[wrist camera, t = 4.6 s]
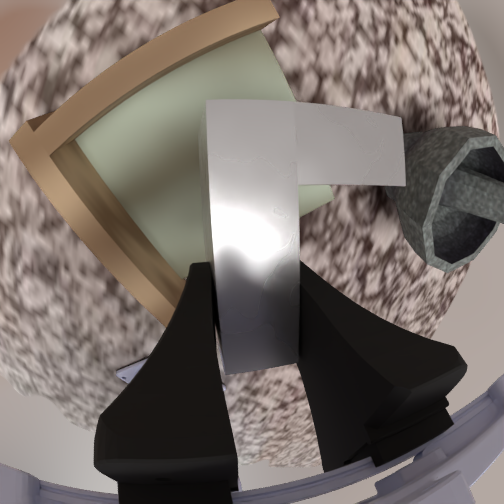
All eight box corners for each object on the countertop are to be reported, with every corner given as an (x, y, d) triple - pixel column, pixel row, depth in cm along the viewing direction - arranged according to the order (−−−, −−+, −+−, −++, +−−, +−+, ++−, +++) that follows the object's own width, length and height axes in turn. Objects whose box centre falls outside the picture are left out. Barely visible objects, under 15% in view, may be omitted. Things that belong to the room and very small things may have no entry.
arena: (335, 205, 20) (363, 233, 16) (171, 291, 21) (170, 331, 18) (241, 0, 11) (257, -22, 8) (42, 125, 12) (8, 141, 9)
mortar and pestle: (362, 234, 22) (456, 348, 12) (356, 116, 16) (514, 189, 7) (455, 204, 22) (544, 278, 13) (461, 108, 17) (579, 163, 7)
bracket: (198, 135, 12) (205, 99, 7) (334, 136, 13) (401, 117, 8) (210, 312, 13) (225, 375, 8) (335, 295, 15) (393, 337, 10)
